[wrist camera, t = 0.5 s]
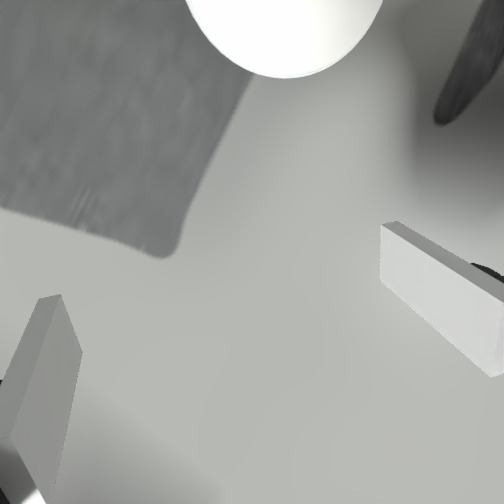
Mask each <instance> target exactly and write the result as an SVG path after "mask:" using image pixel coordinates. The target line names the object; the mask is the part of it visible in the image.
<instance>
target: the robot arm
mask: <svg viewBox="0 0 504 504" xmlns="http://www.w3.org/2000/svg"><path fill="white" fill-rule="evenodd" d="M380 281H381V282H383V284H385V285H386V286H387V287H388V288H389V289H390V290H391V291H393V292H394V293H395V294H396V295H397V296H398V297H399V298H401V299H402V300H403V301H404V302H405V303H406V304H407V305H409V306H410V307H411V308H412V309H413V310H414V311H415V312H417V313H418V314H419V315H420V316H421V317H422V318H423V319H425V320H426V321H427V322H428V323H429V324H430V325H431V326H433V327H434V328H435V329H436V330H437V331H438V332H439V333H440V334H442V335H443V336H444V337H445V338H446V339H447V340H449V341H450V342H451V343H452V344H453V345H454V346H456V347H457V348H458V349H459V350H460V351H461V352H462V353H463V354H464V355H466V356H467V357H468V358H469V359H470V360H471V361H473V362H474V363H475V364H476V365H477V366H478V367H479V368H480V369H482V370H483V371H484V372H485V373H486V374H487V375H488V376H490V377H494V376H497V375H500V374H503V373H504V276H501V275H500V274H499V273H497V272H495V271H493V270H491V269H490V268H488V267H484V266H481V265H478V264H475V263H470V264H469V263H468V262H466V261H464V260H462V259H461V258H459V257H458V256H456V255H454V254H453V253H451V252H449V251H447V250H446V249H444V248H442V247H441V246H439V245H437V244H435V243H434V242H432V241H430V240H429V239H427V238H425V237H423V236H422V235H420V234H418V233H417V232H415V231H413V230H411V229H409V228H408V227H406V226H405V225H403V224H401V223H400V222H398V221H395V222H390V223H385V224H382V225H381V242H380ZM81 358H82V350H81V347H80V344H79V342H78V339H77V336H76V334H75V331H74V328H73V326H72V323H71V321H70V318H69V315H68V313H67V310H66V307H65V305H64V302H63V299H62V297H61V294H59V295H54V296H50V297H45V298H40V299H39V300H38V302H37V304H36V307H35V309H34V311H33V313H32V315H31V318H30V320H29V322H28V324H27V327H26V329H25V331H24V333H23V336H22V338H21V340H20V343H19V345H18V347H17V349H16V351H15V354H14V356H13V358H12V360H11V363H10V365H9V367H8V369H7V372H6V374H5V376H4V378H3V380H0V504H52V499H53V494H54V489H55V484H56V479H57V474H58V470H59V465H60V459H61V455H62V450H63V445H64V440H65V436H66V431H67V426H68V421H69V416H70V411H71V406H72V401H73V397H74V391H75V387H76V382H77V377H78V372H79V367H80V363H81Z"/></svg>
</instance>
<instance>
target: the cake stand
mask: <svg viewBox="0 0 504 504" xmlns="http://www.w3.org/2000/svg"><path fill="white" fill-rule="evenodd" d="M185 1H186V3H187V5H188V8H189V10H190V12H191V14H192V16H193V18H194V19H195V21H196V23H197V24H198V26H199V28H200V29H201V31H202V32H203V33H204V35H205V36H206V37H207V39H208V40H209V41H210V42H211V43H212V44H213V45H214V46H215V47H216V48H217V49H218V50H219V51H220V52H221V53H222V54H223V55H224V56H225V57H227V58H228V59H229V60H231V61H232V62H233V63H235V64H237V65H239V66H240V67H242V68H244V69H246V70H248V71H251V72H253V73H256V74H259V75H263V76H267V77H274V78H297V77H303V76H307V75H311V74H314V73H317V72H319V71H322V70H324V69H326V68H328V67H329V66H331V65H333V64H335V63H336V62H337V61H339V60H340V59H341V58H343V57H344V56H345V55H346V54H347V53H348V52H349V51H351V50H352V49H353V48H354V47H355V45H356V44H357V43H358V42H359V41H360V40H361V38H362V37H363V36H364V35H365V33H366V32H367V30H368V28H369V27H370V25H371V24H372V22H373V20H374V18H375V16H376V14H377V12H378V10H379V8H380V6H381V4H382V1H383V0H185Z"/></svg>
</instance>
